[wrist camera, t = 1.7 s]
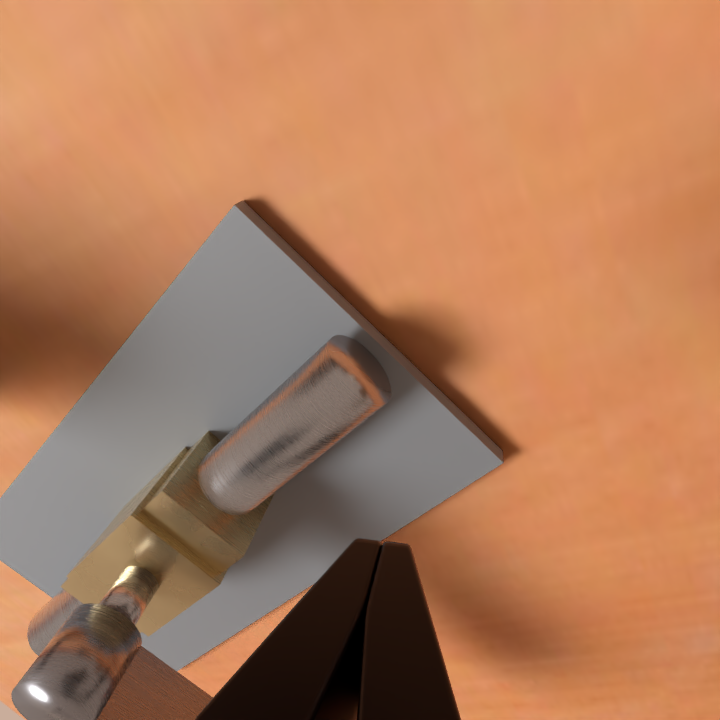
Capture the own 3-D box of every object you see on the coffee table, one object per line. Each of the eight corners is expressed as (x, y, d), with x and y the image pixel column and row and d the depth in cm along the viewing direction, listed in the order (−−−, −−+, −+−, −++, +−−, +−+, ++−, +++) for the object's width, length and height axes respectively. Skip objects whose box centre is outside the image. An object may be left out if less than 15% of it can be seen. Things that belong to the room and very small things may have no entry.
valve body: (325, 309, 20) (266, 398, 15) (409, 389, 21) (383, 502, 15) (43, 585, 31) (-52, 695, 26) (105, 630, 32) (26, 745, 27)
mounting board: (242, 200, 20) (234, 204, 19) (502, 450, 22) (503, 462, 22) (-20, 527, 31) (-32, 537, 31) (171, 666, 34) (164, 678, 33)
